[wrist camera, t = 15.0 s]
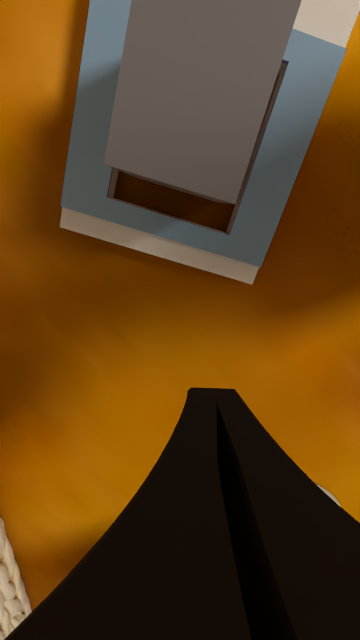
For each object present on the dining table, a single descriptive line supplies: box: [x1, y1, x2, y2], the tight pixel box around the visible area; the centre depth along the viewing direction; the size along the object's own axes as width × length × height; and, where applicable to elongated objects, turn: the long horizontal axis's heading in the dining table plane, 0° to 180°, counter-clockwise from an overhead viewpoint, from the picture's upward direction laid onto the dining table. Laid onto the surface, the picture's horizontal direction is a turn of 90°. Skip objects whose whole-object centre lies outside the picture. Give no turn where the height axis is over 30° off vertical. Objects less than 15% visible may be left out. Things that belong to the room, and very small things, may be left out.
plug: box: [104, 0, 302, 204], centre depth 12 cm, size 4×5×7 cm
